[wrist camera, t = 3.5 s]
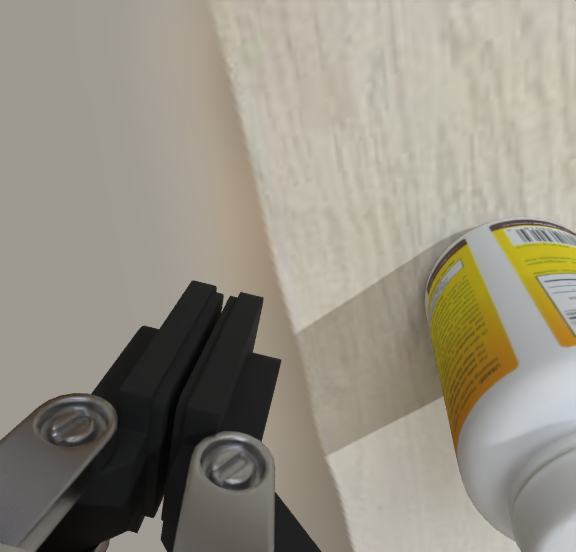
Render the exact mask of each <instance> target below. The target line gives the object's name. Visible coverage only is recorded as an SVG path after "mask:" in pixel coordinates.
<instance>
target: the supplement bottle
mask: <svg viewBox="0 0 576 552" xmlns="http://www.w3.org/2000/svg"><path fill="white" fill-rule="evenodd" d="M425 310H426V316H427V321H428V325H429V330H430V335H431V339H432V344H433V349H434V353H435V358H436V363H437V368H438V373H439V377H440V381H441V386H442V391H443V396H444V400H445V405H446V410H447V414H448V419H449V424H450V429H451V434H452V438H453V443H454V448H455V452H456V457H457V461H458V466H459V470H460V474H461V477H462V481H463V484H464V486H465V489H466V492H467V494H468V496H469V497H470V499H471V501H472V503H473V504H474V506H475V507H476V509H477V510H478V512H479V513H480V514H481V515H482V516H483V517H484V518H485V519H486V520H487V521H488V522H489V523H490V524H491V525H492V526H493V527H494V528H495V529H496V530H498V531H499V532H501V533H502V534H504V535H505V536H507V537H508V538H510V539H512V540H513V541H515V542H516V543H517V545H518V547H519V548H520V550H521V552H576V234H575V233H574V232H572V231H571V230H569V229H567V228H565V227H563V226H561V225H559V224H557V223H554V222H551V221H547V220H543V219H537V218H528V217H516V218H507V219H501V220H496V221H492V222H489V223H486V224H484V225H481V226H479V227H477V228H475V229H473V230H471V231H469V232H467V233H466V234H464V235H462V236H461V237H460V238H458V239H457V240H456V241H455V242H453V243H452V244H451V245H450V246H449V247H448V248H447V249H446V250H445V251H444V253H443V254H442V255H441V256H440V258H439V259H438V260H437V262H436V264H435V265H434V267H433V269H432V271H431V273H430V275H429V278H428V281H427V285H426V291H425Z"/></svg>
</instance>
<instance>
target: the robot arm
mask: <svg viewBox="0 0 576 552" xmlns="http://www.w3.org/2000/svg"><path fill="white" fill-rule="evenodd" d="M216 289H217V288H216V286H214V285H210V284H206V283H202V282H198V281H192V282H191V283H190V284H189V286H188V287H187V289H186V291H185V292H184V293H183V295H182V297H181V298H180V299H179V301H178V302H177V304H176V305H175V307H174V308H173V310H172V311H171V313H170V314H169V316H168V317H167V319H166V320H165V322H164V323H163V325H162V326H161V328H160V329H156V328H152V327H148V326H142V327H141V328H140V329H139V330H138V331H137V333H136V334H135V336H134V337H133V338H132V340H131V341H130V342H129V344H128V345H127V346H126V348H125V349H124V350H123V352H122V353H121V354H120V356H119V357H118V358H117V360H116V361H115V363H114V364H113V365H112V367H111V368H110V369H109V371H108V372H107V373H106V375H105V376H104V377H103V379H102V380H101V382H100V383H99V384H98V386H97V387H96V388H95V390H94V391H93V392H92V394H81V393H73V394H67V395H61V396H58V397H56V398H53V399H51V400H48V401H47V402H45V403H44V404H42V405H41V406H39V407H38V408H37V409H36V410H34V411H33V412H32V413H31V414H30V415H29V416H28V417H26V418H25V419H24V420H23V421H22V422H21V423H20V424H19V425H17V426H16V427H15V428H14V429H13V430H12V431H11V432H9V433H8V434H7V435H6V436H5V437H4V438H3V439H2V440H0V552H106V550H107V548H108V546H109V540H110V538H113V537H115V536H117V535H119V534H122V533H124V532H126V531H131V532H135V533H138V530H139V528H140V526H141V523H142V522H143V519H144V517H145V516H147V517H151V518H154V516H155V515H156V512H157V511H158V508H159V506H160V504H161V501H162V499H163V497H164V501H163V509H162V516H161V520H162V521H163V527H162V534H161V541H162V543H163V545H164V547H165V549H166V550H167V552H321V551H320V549H319V548H318V547H317V545H316V544H315V543H314V541H313V540H312V539H311V538H310V537H309V535H308V534H307V532H306V531H305V530H304V529H303V527H302V526H301V525H300V523H299V522H298V521H297V519H296V518H295V517H294V516H293V514H292V513H291V512H290V510H289V509H288V508H287V506H286V505H285V504H284V503H283V501H282V500H281V499H280V497H279V496H278V495H277V494H276V492H275V465H274V459H273V457H272V455H271V453H270V451H269V449H268V448H267V447H266V446H265V445H264V444H263V443H262V438H263V433H264V430H265V426H266V422H267V418H268V414H269V410H270V405H271V401H272V397H273V393H274V389H275V385H276V381H277V377H278V373H279V368H280V364H281V360H280V359H276V358H272V357H268V356H264V355H260V354H256V353H253V349H254V343H255V339H256V334H257V329H258V324H259V320H260V315H261V310H262V305H263V297H259V296H255V295H251V294H247V293H242V292H240V294H239V296H238V298H237V297H233V296H230V297H229V299H228V301H227V303H226V305H225V307H224V309H223V311H222V313H221V310H222V305H223V297H224V296H223V294H221V293H217V292H216Z"/></svg>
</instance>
